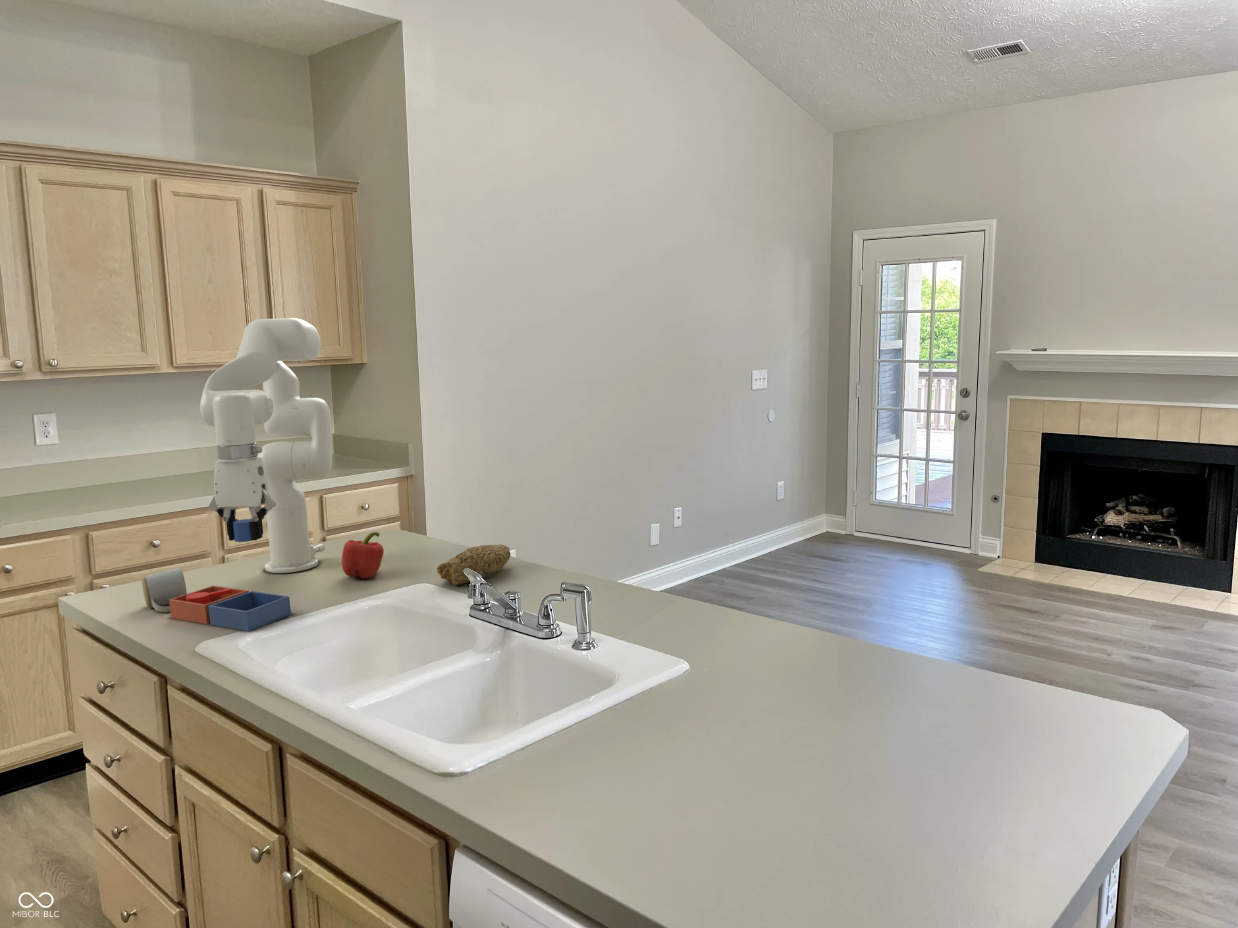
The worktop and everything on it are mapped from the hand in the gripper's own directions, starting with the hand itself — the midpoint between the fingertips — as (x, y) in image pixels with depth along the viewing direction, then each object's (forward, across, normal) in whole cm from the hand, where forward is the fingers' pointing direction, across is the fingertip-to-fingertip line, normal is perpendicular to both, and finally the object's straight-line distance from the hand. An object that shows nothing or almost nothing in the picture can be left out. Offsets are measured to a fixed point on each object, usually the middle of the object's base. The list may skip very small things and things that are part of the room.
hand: (245, 538), depth 191 cm
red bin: (+16, +9, +1) cm, 18 cm away
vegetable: (+16, -14, -27) cm, 34 cm away
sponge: (+16, -41, -28) cm, 52 cm away
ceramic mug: (+16, +22, -4) cm, 27 cm away
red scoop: (+15, +9, +1) cm, 18 cm away
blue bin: (+16, -2, +5) cm, 17 cm away
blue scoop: (0, 0, -2) cm, 2 cm away
